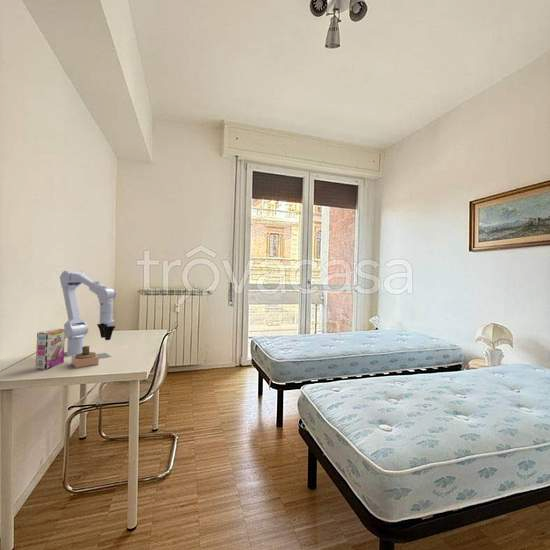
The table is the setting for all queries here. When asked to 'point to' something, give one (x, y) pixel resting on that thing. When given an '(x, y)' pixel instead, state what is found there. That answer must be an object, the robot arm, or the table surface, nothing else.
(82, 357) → the lid
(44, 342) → the candy bar box
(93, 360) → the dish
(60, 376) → the table surface
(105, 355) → the mat
